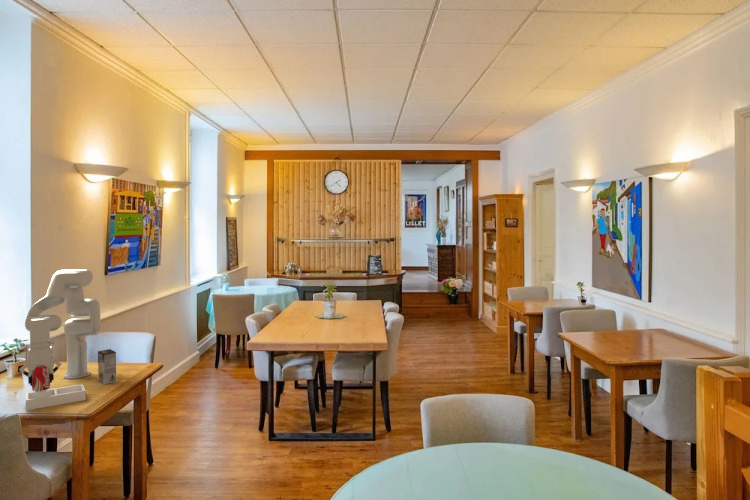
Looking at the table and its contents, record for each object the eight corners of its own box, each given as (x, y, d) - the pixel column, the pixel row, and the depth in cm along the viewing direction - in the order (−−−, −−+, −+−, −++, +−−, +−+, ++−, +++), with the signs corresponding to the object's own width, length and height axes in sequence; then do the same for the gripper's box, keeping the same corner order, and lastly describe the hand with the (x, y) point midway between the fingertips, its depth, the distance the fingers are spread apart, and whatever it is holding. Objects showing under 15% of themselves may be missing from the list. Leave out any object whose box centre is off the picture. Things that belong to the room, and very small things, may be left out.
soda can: (41, 393, 224) (40, 367, 223) (28, 392, 225) (27, 366, 225) (54, 388, 231) (53, 362, 230) (41, 387, 232) (40, 362, 231)
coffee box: (97, 380, 262) (97, 351, 262) (110, 378, 267) (110, 348, 266) (104, 384, 256) (103, 354, 256) (117, 381, 261) (116, 351, 260)
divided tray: (25, 402, 230) (25, 393, 229) (83, 393, 243) (82, 384, 243) (26, 410, 220) (25, 400, 220) (85, 399, 233) (85, 390, 233)
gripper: (61, 341, 235) (62, 378, 236) (16, 346, 225) (17, 384, 226) (63, 344, 229) (63, 382, 230) (16, 349, 219) (17, 389, 220)
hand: (41, 383), depth 228 cm, fingers closed on soda can, 7 cm apart
